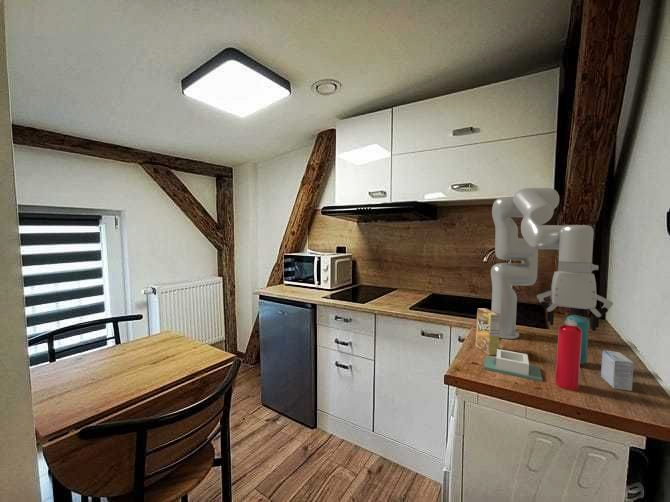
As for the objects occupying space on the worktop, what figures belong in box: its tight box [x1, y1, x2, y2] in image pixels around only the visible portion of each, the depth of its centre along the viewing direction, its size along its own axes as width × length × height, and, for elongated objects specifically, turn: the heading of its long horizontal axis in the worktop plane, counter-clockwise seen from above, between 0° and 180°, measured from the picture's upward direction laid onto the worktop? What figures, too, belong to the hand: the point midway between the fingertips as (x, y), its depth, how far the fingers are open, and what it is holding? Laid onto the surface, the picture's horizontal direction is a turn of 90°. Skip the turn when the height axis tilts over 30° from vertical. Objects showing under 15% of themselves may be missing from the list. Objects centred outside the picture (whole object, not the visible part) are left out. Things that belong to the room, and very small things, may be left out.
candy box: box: [475, 307, 501, 356], centre depth 113 cm, size 9×4×15 cm, turn 6°
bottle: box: [554, 319, 582, 391], centre depth 88 cm, size 6×5×20 cm
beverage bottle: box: [565, 308, 590, 364], centre depth 103 cm, size 6×7×20 cm
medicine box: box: [600, 350, 635, 392], centre depth 89 cm, size 8×4×9 cm, turn 158°
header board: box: [483, 349, 543, 383], centre depth 99 cm, size 10×16×4 cm, turn 60°
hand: (571, 326), depth 87 cm, fingers open, 9 cm apart
